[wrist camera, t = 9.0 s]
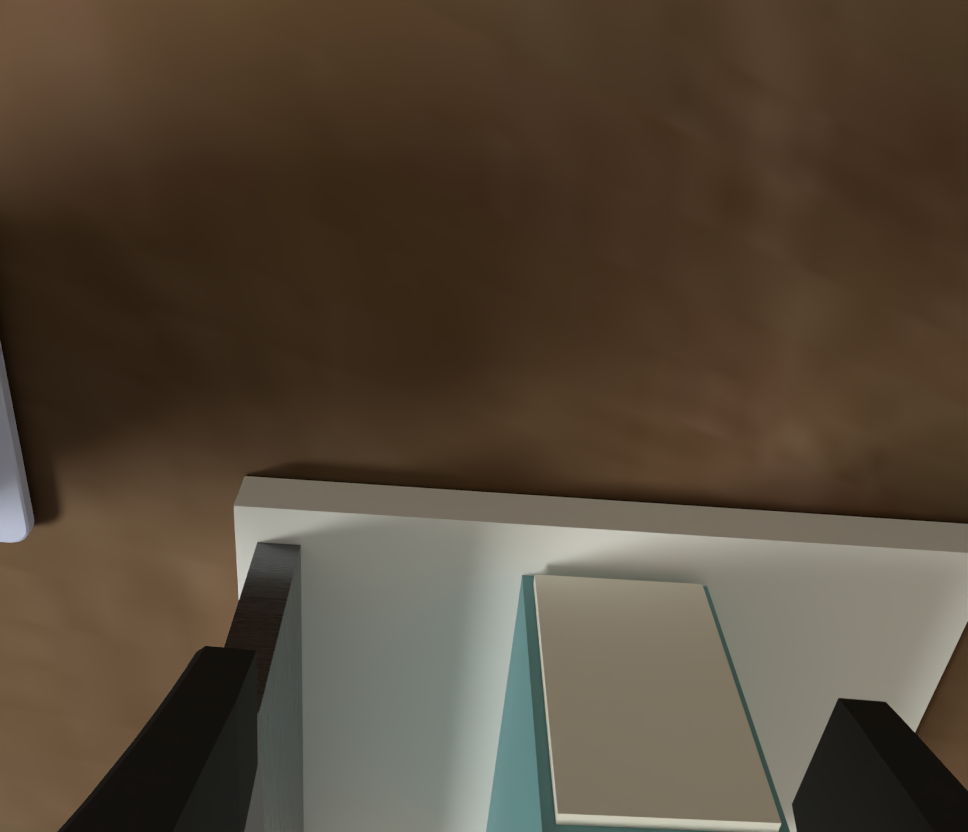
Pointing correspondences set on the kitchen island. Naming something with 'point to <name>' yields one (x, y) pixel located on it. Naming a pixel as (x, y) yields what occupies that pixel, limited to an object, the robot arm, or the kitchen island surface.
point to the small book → (626, 716)
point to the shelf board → (577, 553)
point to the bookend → (275, 683)
